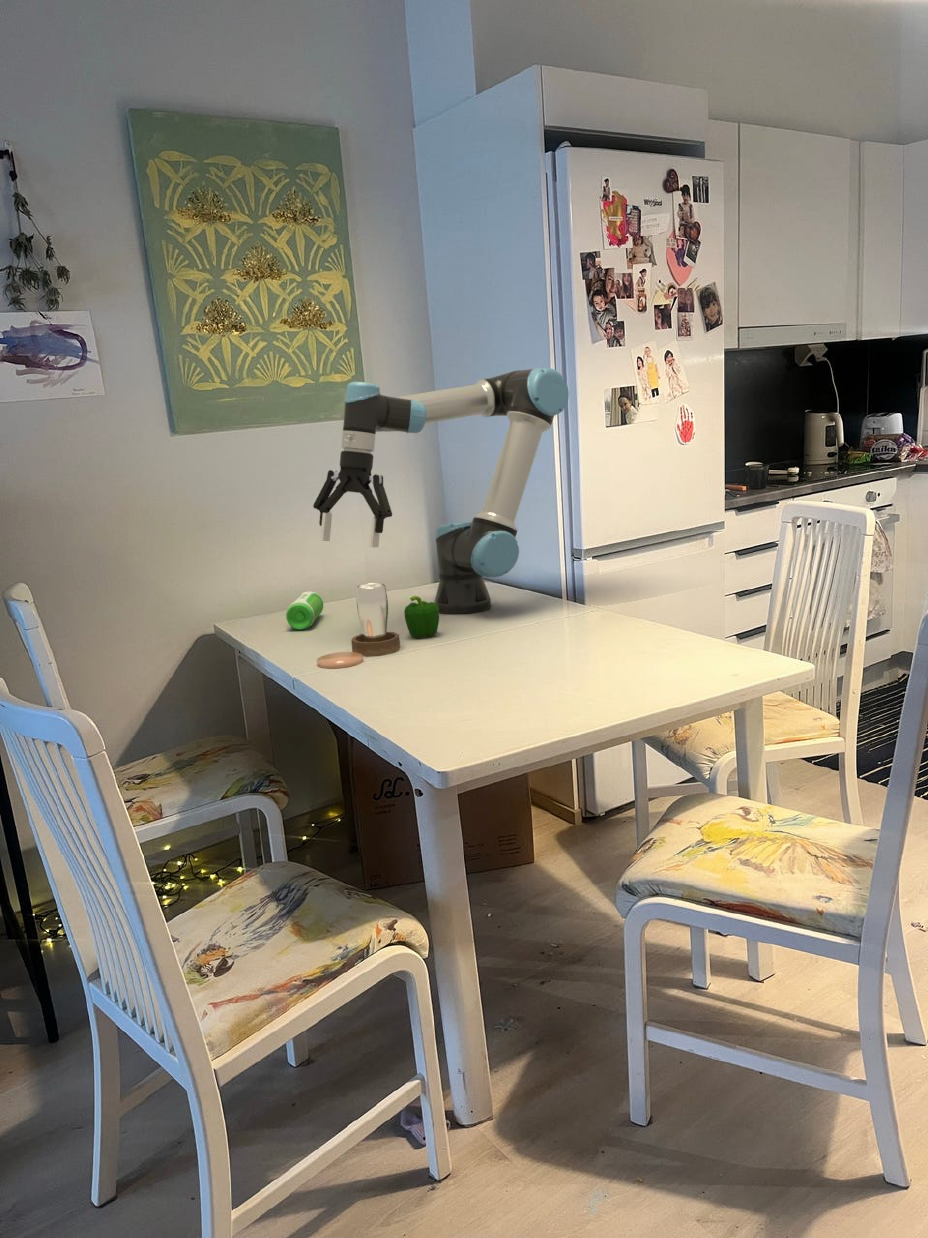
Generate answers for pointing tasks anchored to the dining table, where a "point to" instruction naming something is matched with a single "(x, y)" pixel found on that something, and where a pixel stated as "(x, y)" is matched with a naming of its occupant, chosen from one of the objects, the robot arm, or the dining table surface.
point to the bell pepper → (422, 618)
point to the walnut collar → (376, 645)
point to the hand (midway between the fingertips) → (349, 544)
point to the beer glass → (372, 611)
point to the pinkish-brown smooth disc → (340, 660)
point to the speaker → (304, 610)
